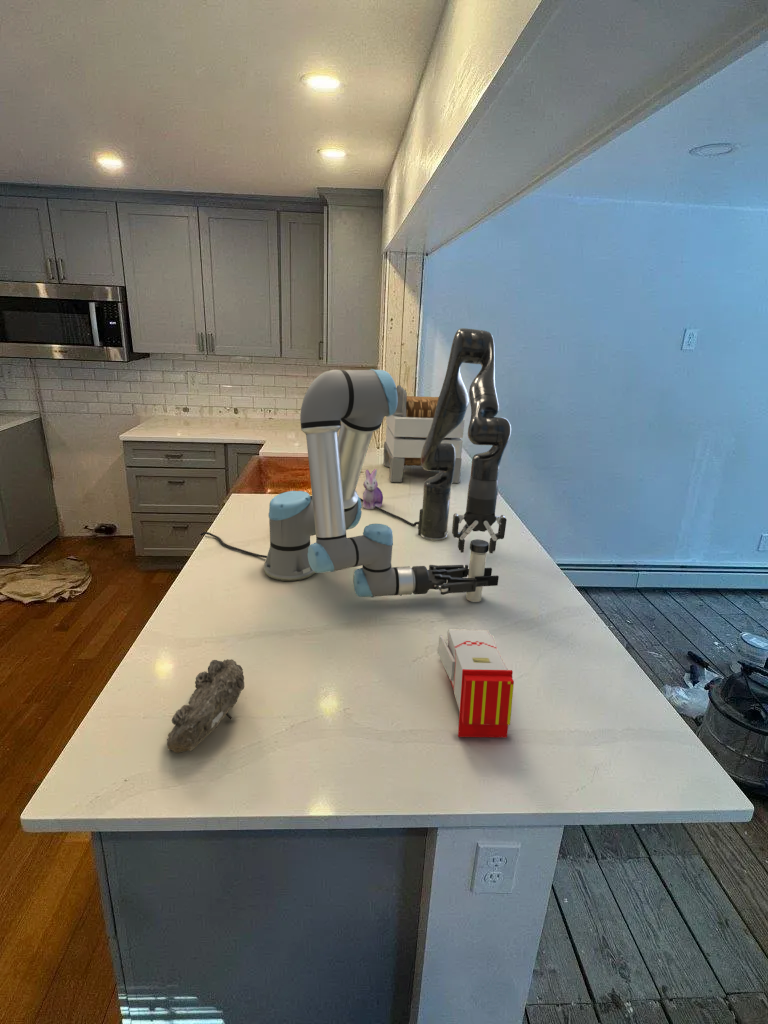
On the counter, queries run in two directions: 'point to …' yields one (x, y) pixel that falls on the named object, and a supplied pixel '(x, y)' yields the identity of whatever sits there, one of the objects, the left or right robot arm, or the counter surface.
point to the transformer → (415, 434)
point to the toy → (478, 682)
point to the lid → (479, 546)
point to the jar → (476, 574)
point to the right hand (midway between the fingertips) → (476, 551)
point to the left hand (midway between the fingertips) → (494, 576)
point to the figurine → (371, 491)
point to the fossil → (206, 705)
